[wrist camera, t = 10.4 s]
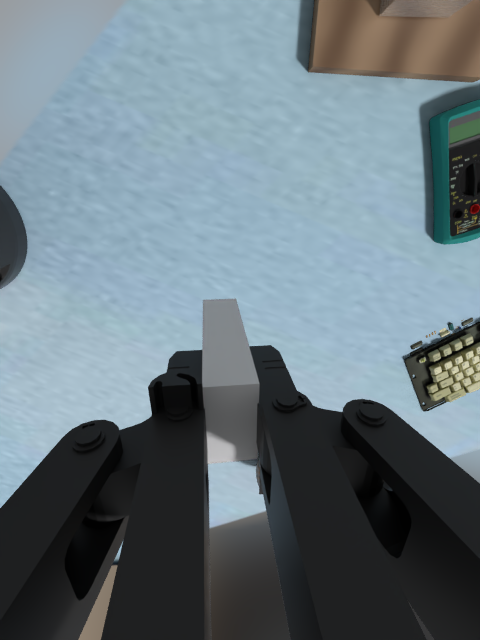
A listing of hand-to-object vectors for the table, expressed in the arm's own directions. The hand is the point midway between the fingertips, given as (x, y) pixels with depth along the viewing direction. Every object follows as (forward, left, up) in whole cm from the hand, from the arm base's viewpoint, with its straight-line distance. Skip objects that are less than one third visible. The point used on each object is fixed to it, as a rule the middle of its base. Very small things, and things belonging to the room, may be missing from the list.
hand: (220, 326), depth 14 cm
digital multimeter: (+29, +8, -25) cm, 39 cm away
